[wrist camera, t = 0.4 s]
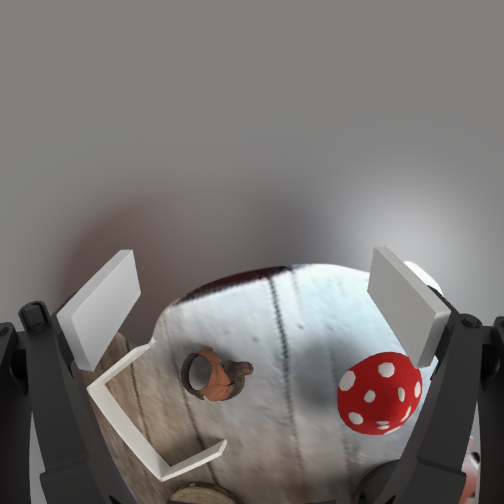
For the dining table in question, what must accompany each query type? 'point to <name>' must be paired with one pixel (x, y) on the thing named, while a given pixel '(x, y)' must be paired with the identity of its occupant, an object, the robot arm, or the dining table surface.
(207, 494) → the wood slice
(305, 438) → the dining table surface
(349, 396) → the decorative mushroom
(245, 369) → the pottery mug
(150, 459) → the bin
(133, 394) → the dining table surface
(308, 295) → the dining table surface
